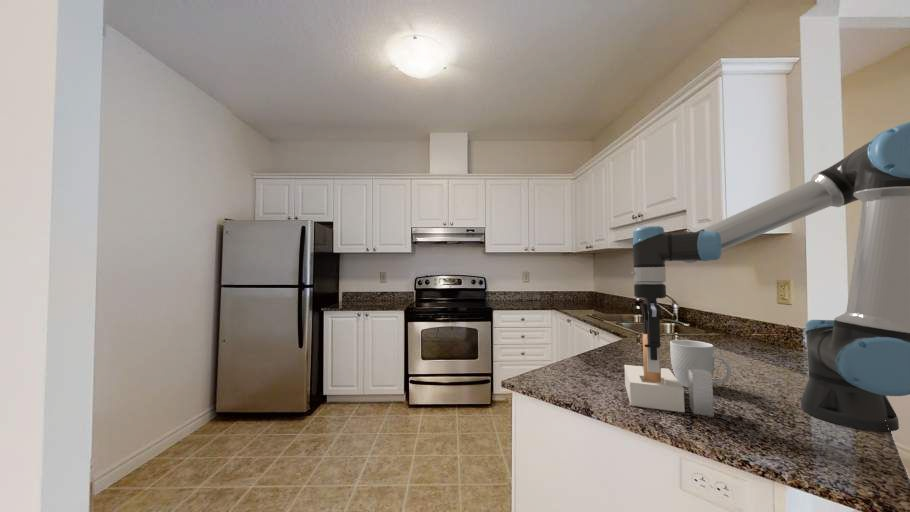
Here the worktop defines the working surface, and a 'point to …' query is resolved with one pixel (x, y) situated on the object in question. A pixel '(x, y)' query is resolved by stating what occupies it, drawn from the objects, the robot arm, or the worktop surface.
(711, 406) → the square bit
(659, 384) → the socket block
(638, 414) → the worktop surface
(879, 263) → the robot arm
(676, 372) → the mug
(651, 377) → the dowel
